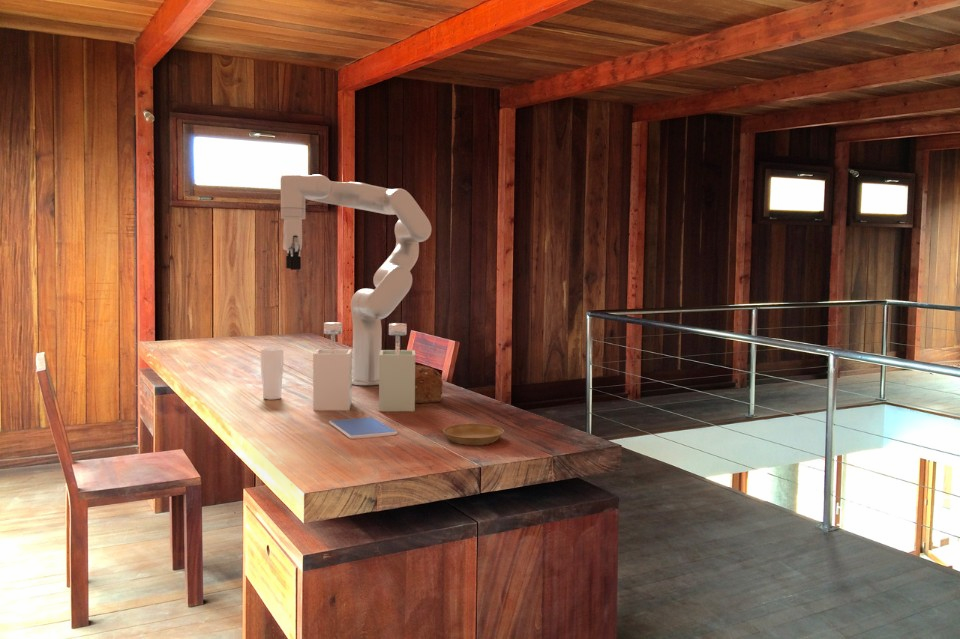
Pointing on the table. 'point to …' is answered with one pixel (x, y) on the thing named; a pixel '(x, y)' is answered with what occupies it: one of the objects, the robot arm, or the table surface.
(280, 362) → the drinking glass
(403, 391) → the press sage
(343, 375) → the press white
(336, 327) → the plunger white
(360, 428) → the tablet computer
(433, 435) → the table surface
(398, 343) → the silver rod piece
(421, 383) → the bread
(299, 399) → the table surface
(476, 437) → the plant saucer
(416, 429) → the table surface
